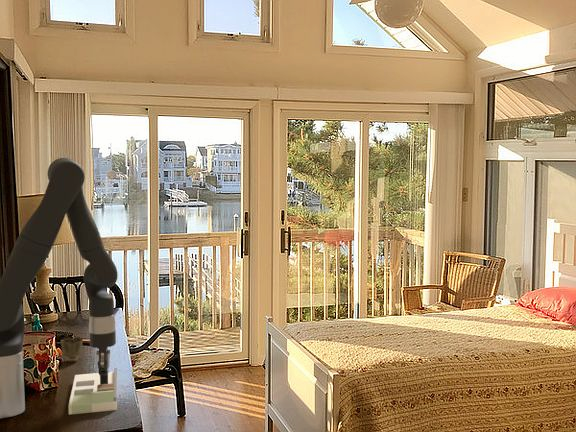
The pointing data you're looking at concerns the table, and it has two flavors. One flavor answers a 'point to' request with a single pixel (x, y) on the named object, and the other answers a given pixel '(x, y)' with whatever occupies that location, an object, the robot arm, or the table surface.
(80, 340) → the cup
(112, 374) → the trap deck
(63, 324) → the table surface
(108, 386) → the walnut block
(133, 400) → the table surface
